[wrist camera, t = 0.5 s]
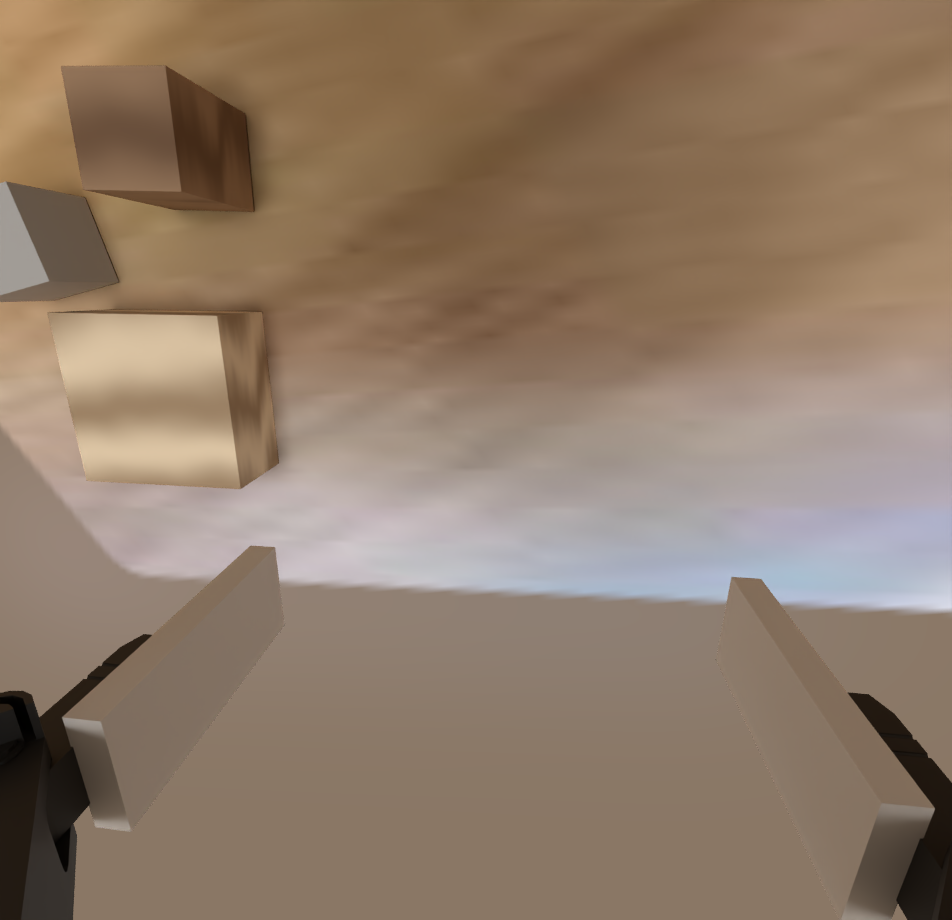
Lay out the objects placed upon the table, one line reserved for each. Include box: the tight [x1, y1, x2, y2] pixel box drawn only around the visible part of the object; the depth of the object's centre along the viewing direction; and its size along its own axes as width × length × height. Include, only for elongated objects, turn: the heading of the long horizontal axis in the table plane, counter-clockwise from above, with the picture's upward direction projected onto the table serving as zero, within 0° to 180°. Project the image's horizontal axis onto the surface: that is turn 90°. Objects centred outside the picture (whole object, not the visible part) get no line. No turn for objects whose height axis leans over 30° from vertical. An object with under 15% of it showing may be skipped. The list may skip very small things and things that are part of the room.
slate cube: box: [0, 182, 119, 302], centre depth 37 cm, size 6×6×6 cm
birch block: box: [48, 309, 279, 489], centre depth 39 cm, size 12×12×6 cm
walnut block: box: [61, 66, 254, 212], centre depth 33 cm, size 6×6×8 cm
